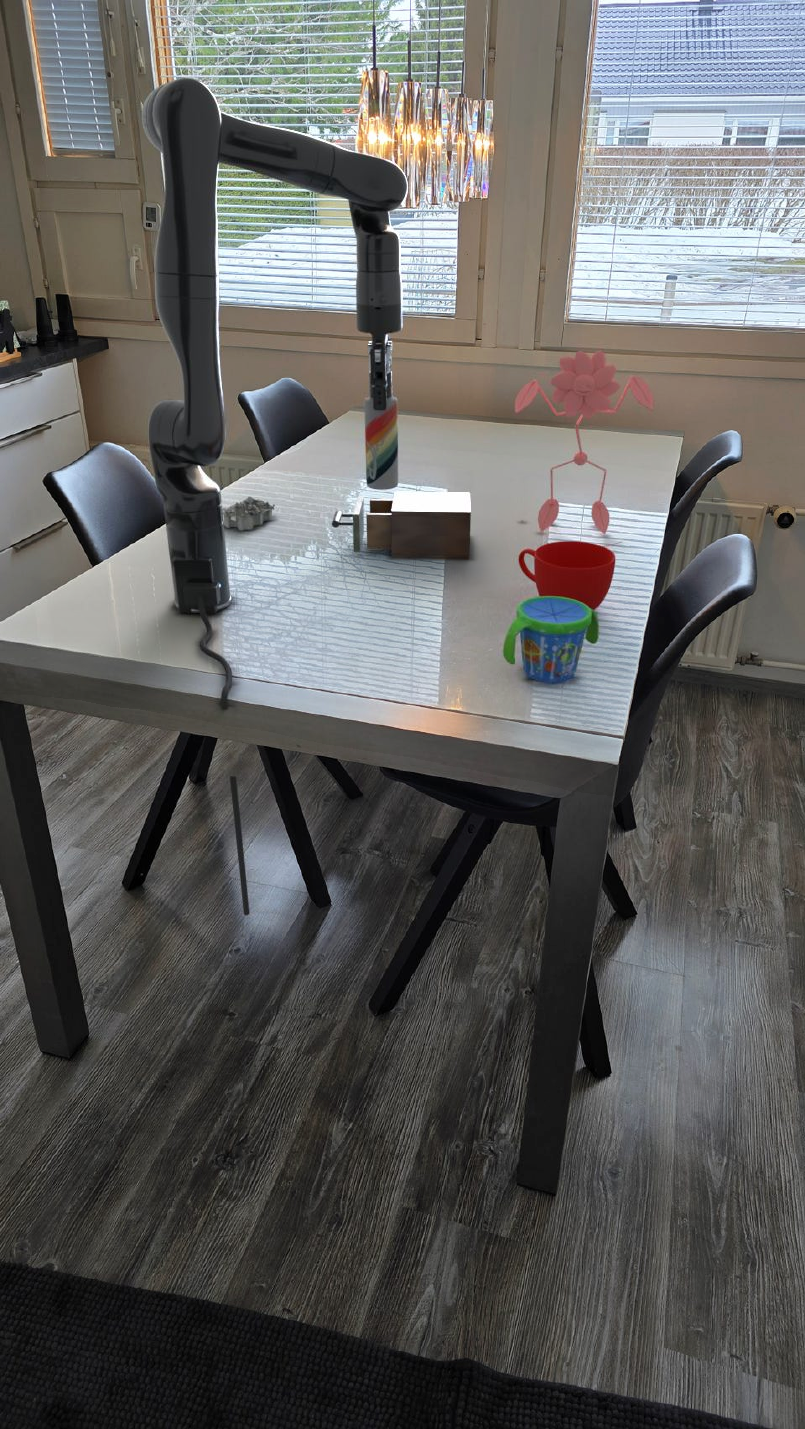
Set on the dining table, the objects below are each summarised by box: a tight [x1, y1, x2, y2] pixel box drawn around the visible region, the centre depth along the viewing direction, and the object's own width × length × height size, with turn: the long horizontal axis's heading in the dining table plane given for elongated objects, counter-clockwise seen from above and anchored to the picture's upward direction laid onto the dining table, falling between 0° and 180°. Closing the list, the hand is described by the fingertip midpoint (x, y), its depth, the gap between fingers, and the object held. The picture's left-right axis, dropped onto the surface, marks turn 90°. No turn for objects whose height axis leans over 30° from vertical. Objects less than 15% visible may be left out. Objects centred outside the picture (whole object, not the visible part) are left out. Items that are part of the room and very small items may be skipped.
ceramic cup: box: [517, 540, 616, 611], centre depth 165 cm, size 13×17×10 cm
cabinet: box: [391, 491, 472, 560], centre depth 191 cm, size 15×12×9 cm
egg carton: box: [222, 496, 276, 531], centre depth 206 cm, size 11×8×4 cm
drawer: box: [331, 496, 393, 553], centre depth 191 cm, size 18×11×7 cm, turn 88°
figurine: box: [514, 350, 655, 548], centre depth 190 cm, size 15×26×35 cm, turn 80°
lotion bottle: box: [363, 370, 399, 491], centre depth 174 cm, size 6×6×20 cm
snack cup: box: [502, 596, 600, 684], centre depth 144 cm, size 16×10×10 cm
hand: (381, 405), depth 172 cm, fingers closed on lotion bottle, 5 cm apart
